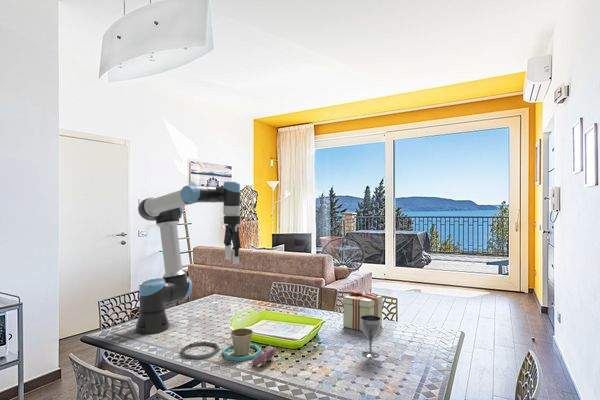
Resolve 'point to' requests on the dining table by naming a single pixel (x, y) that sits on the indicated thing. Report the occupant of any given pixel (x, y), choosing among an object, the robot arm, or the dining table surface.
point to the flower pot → (241, 341)
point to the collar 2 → (241, 357)
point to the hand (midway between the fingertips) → (231, 261)
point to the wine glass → (370, 332)
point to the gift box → (360, 308)
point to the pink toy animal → (264, 356)
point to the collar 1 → (200, 355)
